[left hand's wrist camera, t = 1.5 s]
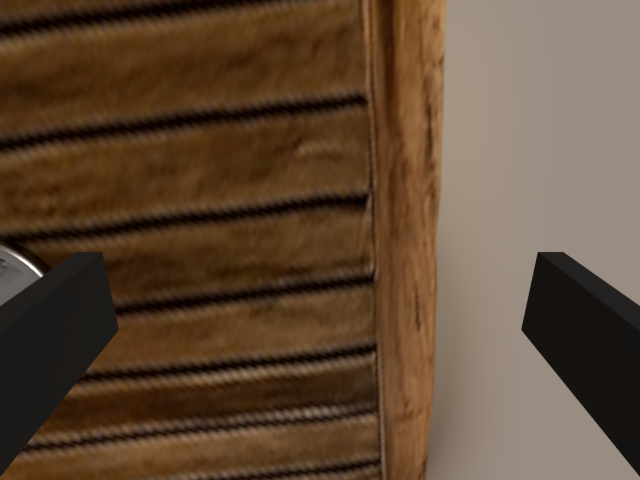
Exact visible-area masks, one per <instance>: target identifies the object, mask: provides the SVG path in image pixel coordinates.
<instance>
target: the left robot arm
mask: <svg viewBox="0 0 640 480" xmlns="http://www.w3.org/2000/svg"><path fill="white" fill-rule="evenodd" d="M118 330H119V329H118V324H117V319H116V315H115V310H114V305H113V301H112V296H111V291H110V287H109V282H108V277H107V273H106V268H105V263H104V258H103V254H102V252H76V253H75V254H73V255H72V256H70V257H69V258H68V259H66V260H65V261H63V262H62V263H61V264H59V265H58V266H56V267H55V268H53V269H52V270H51V268H50V267H49V266H48V265H47V264H46V263H45V262H43V261H42V260H41V259H40V258H39V257H37V256H36V255H35V254H33V253H32V252H31V251H29V250H27V249H26V248H24V247H22V246H20V245H18V244H16V243H14V242H12V241H10V240H7V239H4V238H1V237H0V476H1V475H2V474H3V472H4V471H5V470H6V469H7V468H8V466H9V465H10V464H11V463H12V461H13V460H14V459H15V458H16V456H17V455H18V454H19V453H20V451H21V450H22V449H23V448H24V446H25V445H26V444H27V443H28V442H29V440H30V439H31V438H32V437H33V435H34V434H35V433H36V432H37V430H38V429H39V428H40V427H41V425H42V424H43V423H44V422H45V421H46V419H47V418H48V417H49V416H50V414H51V413H52V412H53V411H54V409H55V408H56V407H57V406H58V404H59V403H60V402H61V401H62V399H63V398H64V397H65V396H66V395H67V393H68V392H69V391H70V390H71V388H72V387H73V386H74V385H75V383H76V382H77V381H78V380H79V378H80V377H81V376H82V375H83V374H84V372H85V371H86V370H87V369H88V367H89V366H90V365H91V364H92V362H93V361H94V360H95V359H96V357H97V356H98V355H99V354H100V352H101V351H102V350H103V349H104V348H105V346H106V345H107V344H108V343H109V341H110V340H111V339H112V338H113V336H114V335H115V334H116V333H117V331H118ZM521 330H522V331H523V333H524V334H525V335H526V336H527V338H528V339H529V340H530V341H531V343H532V344H533V345H534V346H535V348H536V349H537V350H538V351H539V352H540V354H541V355H542V356H543V357H544V359H545V360H546V361H547V362H548V364H549V365H550V366H551V367H552V369H553V370H554V371H555V372H556V374H557V375H558V376H559V377H560V378H561V380H562V381H563V382H564V383H565V385H566V386H567V387H568V388H569V390H570V391H571V392H572V393H573V395H574V396H575V397H576V398H577V399H578V401H579V402H580V403H581V404H582V406H583V407H584V408H585V409H586V411H587V412H588V413H589V414H590V416H591V417H592V418H593V419H594V421H595V422H596V423H597V424H598V425H599V427H600V428H601V429H602V430H603V432H604V433H605V434H606V435H607V437H608V438H609V439H610V440H611V442H612V443H613V444H614V445H615V446H616V448H617V449H618V450H619V451H620V453H621V454H622V455H623V456H624V458H625V459H626V460H627V461H628V463H629V464H630V465H631V466H632V468H633V469H634V470H635V471H636V472H637V474H638V475H639V476H640V306H639V305H638V304H636V303H635V302H633V301H632V300H631V299H629V298H628V297H626V296H625V295H624V294H622V293H621V292H619V291H618V290H616V289H615V288H614V287H612V286H611V285H609V284H608V283H606V282H605V281H604V280H602V279H601V278H599V277H598V276H597V275H595V274H594V273H592V272H591V271H589V270H588V269H587V268H585V267H584V266H582V265H581V264H579V263H578V262H577V261H575V260H574V259H572V258H571V257H570V256H568V255H567V254H565V253H564V252H538V254H537V258H536V263H535V268H534V273H533V277H532V282H531V287H530V291H529V296H528V301H527V305H526V310H525V315H524V319H523V324H522V329H521Z"/></svg>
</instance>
